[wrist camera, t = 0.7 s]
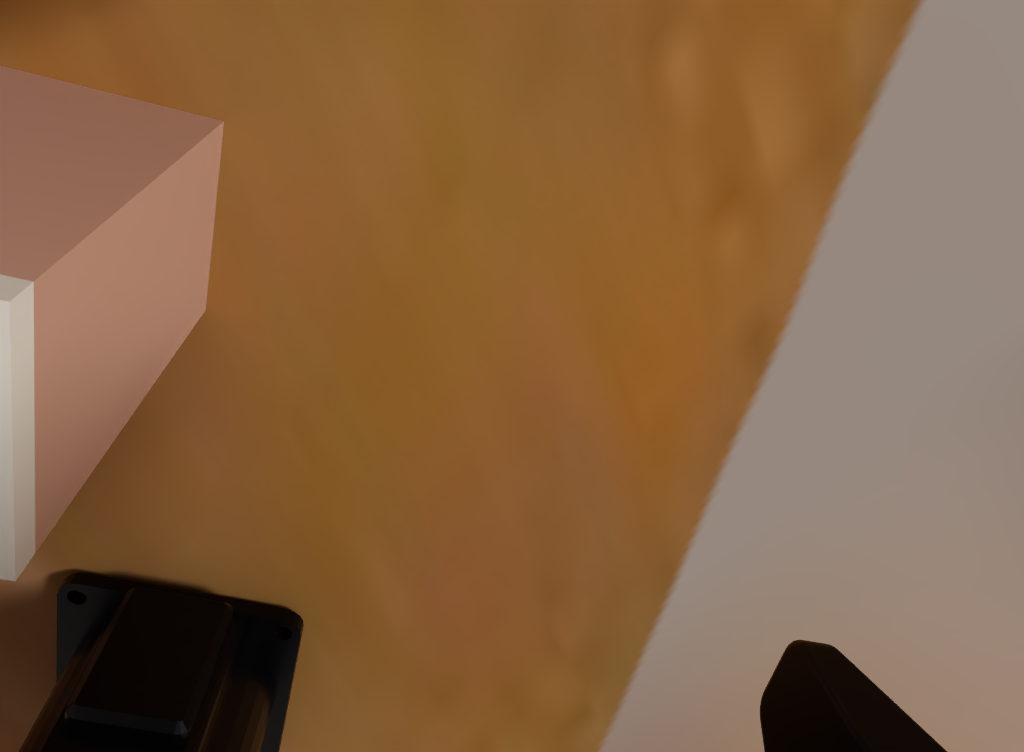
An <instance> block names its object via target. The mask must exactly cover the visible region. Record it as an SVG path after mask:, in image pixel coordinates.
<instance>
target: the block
mask: <svg viewBox="0 0 1024 752" xmlns="http://www.w3.org/2000/svg"><path fill="white" fill-rule="evenodd" d="M223 128H224V121H221V120H217V119H213V118H209V117H205V116H201V115H197V114H193V113H189V112H185V111H181V110H177V109H173V108H169V107H165V106H161V105H157V104H153V103H149V102H145V101H141V100H137V99H133V98H129V97H125V96H121V95H117V94H113V93H109V92H105V91H101V90H97V89H93V88H89V87H85V86H81V85H77V84H73V83H69V82H65V81H61V80H57V79H53V78H48V77H44V76H40V75H36V74H32V73H28V72H24V71H20V70H16V69H12V68H8V67H4V66H0V579H3V580H9V581H14V582H16V580H17V579H18V577H19V576H20V574H21V573H22V572H23V570H24V569H25V567H26V566H27V564H28V563H29V562H30V560H31V559H32V557H33V556H34V554H35V553H36V552H37V550H38V549H39V547H40V546H41V544H42V543H43V542H44V540H45V539H46V537H47V536H48V534H49V533H50V532H51V530H52V529H53V527H54V526H55V524H56V523H57V522H58V520H59V519H60V517H61V516H62V514H63V513H64V512H65V510H66V509H67V507H68V506H69V504H70V503H71V502H72V500H73V499H74V497H75V496H76V494H77V493H78V492H79V490H80V489H81V487H82V486H83V484H84V483H85V482H86V480H87V479H88V477H89V476H90V474H91V473H92V472H93V470H94V469H95V467H96V466H97V464H98V463H99V462H100V460H101V459H102V457H103V456H104V454H105V453H106V452H107V450H108V449H109V447H110V446H111V444H112V443H113V442H114V440H115V439H116V437H117V436H118V434H119V433H120V432H121V430H122V429H123V427H124V426H125V424H126V423H127V422H128V420H129V419H130V417H131V416H132V414H133V413H134V412H135V410H136V409H137V407H138V406H139V404H140V403H141V402H142V400H143V399H144V397H145V396H146V394H147V393H148V392H149V390H150V389H151V387H152V386H153V384H154V383H155V382H156V380H157V379H158V377H159V376H160V374H161V373H162V372H163V370H164V369H165V367H166V366H167V364H168V363H169V362H170V360H171V359H172V357H173V356H174V354H175V353H176V352H177V350H178V349H179V347H180V346H181V344H182V343H183V342H184V340H185V339H186V337H187V336H188V334H189V333H190V332H191V330H192V329H193V327H194V326H195V324H196V323H197V322H198V320H199V319H200V317H201V316H202V314H203V313H204V312H205V310H206V302H207V291H208V281H209V271H210V261H211V251H212V240H213V230H214V220H215V210H216V199H217V189H218V179H219V169H220V158H221V148H222V138H223Z"/></svg>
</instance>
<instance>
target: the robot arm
mask: <svg viewBox="0 0 1024 752" xmlns="http://www.w3.org/2000/svg"><path fill="white" fill-rule="evenodd" d="M77 591H80V592H82V593H83V594H81V593H78V592H77ZM303 626H304V625H303V620H302V618H301V617H300V616H299V615H298V614H297V613H295V612H293V611H290V610H285V609H280V608H274V607H269V606H263V605H257V604H252V603H246V602H240V601H235V600H229V599H224V598H218V597H212V596H207V595H201V594H195V593H190V592H184V591H179V590H173V589H167V588H162V587H156V586H150V585H145V584H139V583H134V582H128V581H122V580H117V579H111V578H105V577H100V576H94V575H89V574H82V573H75V574H72V575H69V576H68V577H67V578H66V579H65V580H64V582H63V584H62V585H61V587H60V588H59V591H58V594H57V684H56V686H55V687H54V689H53V691H52V693H51V695H50V696H49V698H48V700H47V702H46V704H45V705H44V707H43V709H42V711H41V712H40V714H39V716H38V718H37V720H36V721H35V723H34V725H33V727H32V729H31V730H30V732H29V734H28V736H27V738H26V739H25V741H24V743H23V745H22V747H21V748H20V750H19V752H279V749H280V744H281V739H282V734H283V729H284V724H285V719H286V713H287V708H288V703H289V698H290V693H291V688H292V683H293V678H294V672H295V667H296V662H297V657H298V652H299V647H300V642H301V636H302V631H303ZM280 627H286V628H288V629H282V628H280ZM760 720H761V728H762V735H763V742H764V749H765V752H947V751H946V750H945V749H944V748H943V747H942V746H940V745H939V744H938V743H937V742H936V741H935V740H934V739H933V738H932V737H931V736H930V735H929V734H928V733H926V732H925V731H924V730H923V729H922V728H921V727H920V726H919V725H918V724H917V723H916V722H915V721H914V720H912V718H911V717H909V716H908V715H907V714H906V713H905V712H904V711H903V710H902V709H901V708H900V707H899V706H898V705H897V704H895V703H894V702H893V701H892V700H891V699H890V698H889V697H888V696H887V695H886V694H885V693H884V692H883V691H882V690H880V689H879V688H878V687H877V686H876V685H875V684H874V683H873V682H872V681H871V680H870V679H869V678H868V677H867V676H866V675H864V674H863V673H862V672H861V671H860V670H859V669H858V668H857V667H856V666H855V665H854V664H853V663H852V662H851V661H849V660H848V659H847V658H846V657H845V656H844V655H843V654H842V653H841V652H840V651H838V650H837V649H836V648H835V647H833V646H831V645H828V644H824V643H817V642H811V641H804V640H796V641H793V642H792V643H790V644H789V645H788V647H787V648H786V650H785V652H784V653H783V656H782V657H781V660H780V661H779V663H778V665H777V667H776V669H775V671H774V673H773V675H772V677H771V679H770V681H769V683H768V685H767V687H766V689H765V691H764V693H763V696H762V700H761V705H760Z"/></svg>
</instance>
